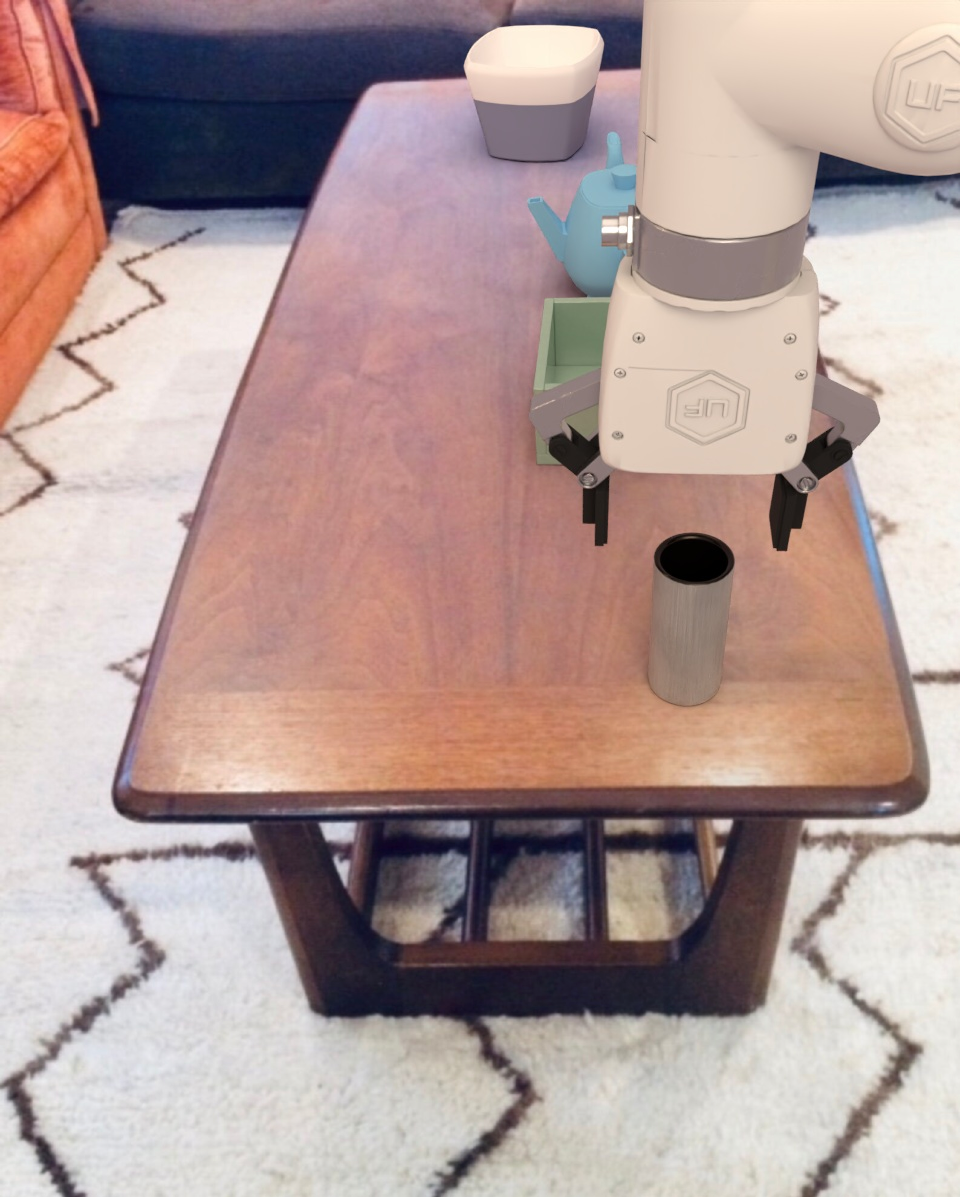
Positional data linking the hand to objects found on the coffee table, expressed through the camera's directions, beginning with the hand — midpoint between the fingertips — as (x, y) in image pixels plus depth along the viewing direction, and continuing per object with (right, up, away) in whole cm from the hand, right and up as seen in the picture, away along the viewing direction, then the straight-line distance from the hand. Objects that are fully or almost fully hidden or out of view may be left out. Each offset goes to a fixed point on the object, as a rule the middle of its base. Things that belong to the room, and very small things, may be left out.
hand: (688, 532), depth 61 cm
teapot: (+2, +27, +45) cm, 53 cm away
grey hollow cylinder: (+1, -9, +8) cm, 12 cm away
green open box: (0, +11, +29) cm, 32 cm away
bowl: (-5, +51, +72) cm, 88 cm away
